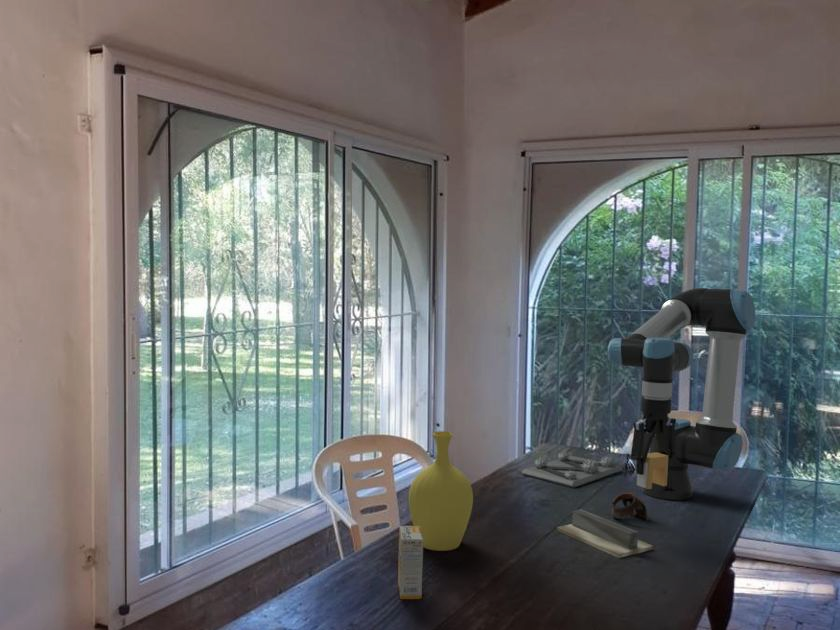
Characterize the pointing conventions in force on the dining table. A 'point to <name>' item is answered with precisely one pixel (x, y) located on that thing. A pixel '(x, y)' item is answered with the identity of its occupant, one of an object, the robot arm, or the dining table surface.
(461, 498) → the vase
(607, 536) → the rail block
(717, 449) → the robot arm
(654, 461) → the clip
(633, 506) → the pottery mug
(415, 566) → the supplement box
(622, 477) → the dining table surface
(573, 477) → the decorative plate
